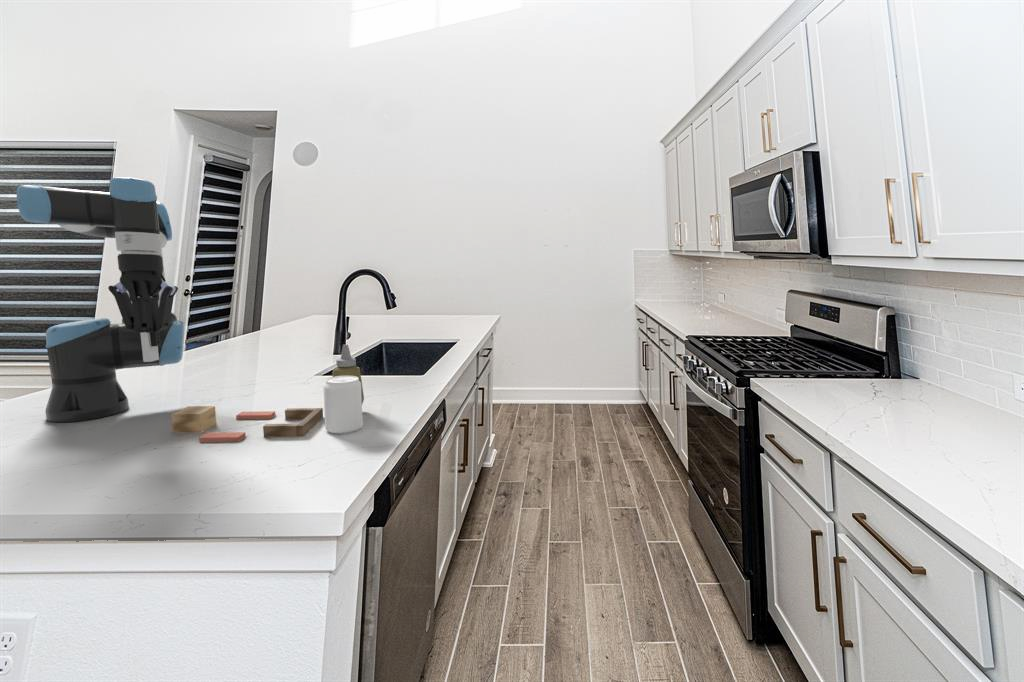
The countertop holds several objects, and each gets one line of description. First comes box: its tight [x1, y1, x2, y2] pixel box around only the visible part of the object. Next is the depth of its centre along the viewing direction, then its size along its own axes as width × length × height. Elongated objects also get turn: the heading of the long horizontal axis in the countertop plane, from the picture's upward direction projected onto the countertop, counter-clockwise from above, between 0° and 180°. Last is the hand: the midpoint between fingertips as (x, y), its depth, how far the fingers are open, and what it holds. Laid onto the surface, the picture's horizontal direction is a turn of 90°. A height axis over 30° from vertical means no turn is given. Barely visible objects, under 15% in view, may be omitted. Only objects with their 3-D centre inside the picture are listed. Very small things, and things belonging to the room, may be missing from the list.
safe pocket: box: [262, 407, 324, 438], centre depth 105 cm, size 8×13×2 cm, turn 5°
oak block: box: [170, 405, 217, 434], centre depth 103 cm, size 6×6×4 cm
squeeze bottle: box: [331, 344, 365, 405], centre depth 114 cm, size 8×8×18 cm
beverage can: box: [322, 376, 363, 435], centre depth 103 cm, size 8×8×12 cm
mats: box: [198, 410, 276, 443], centre depth 104 cm, size 8×18×1 cm, turn 5°
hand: (151, 360), depth 100 cm, fingers closed
